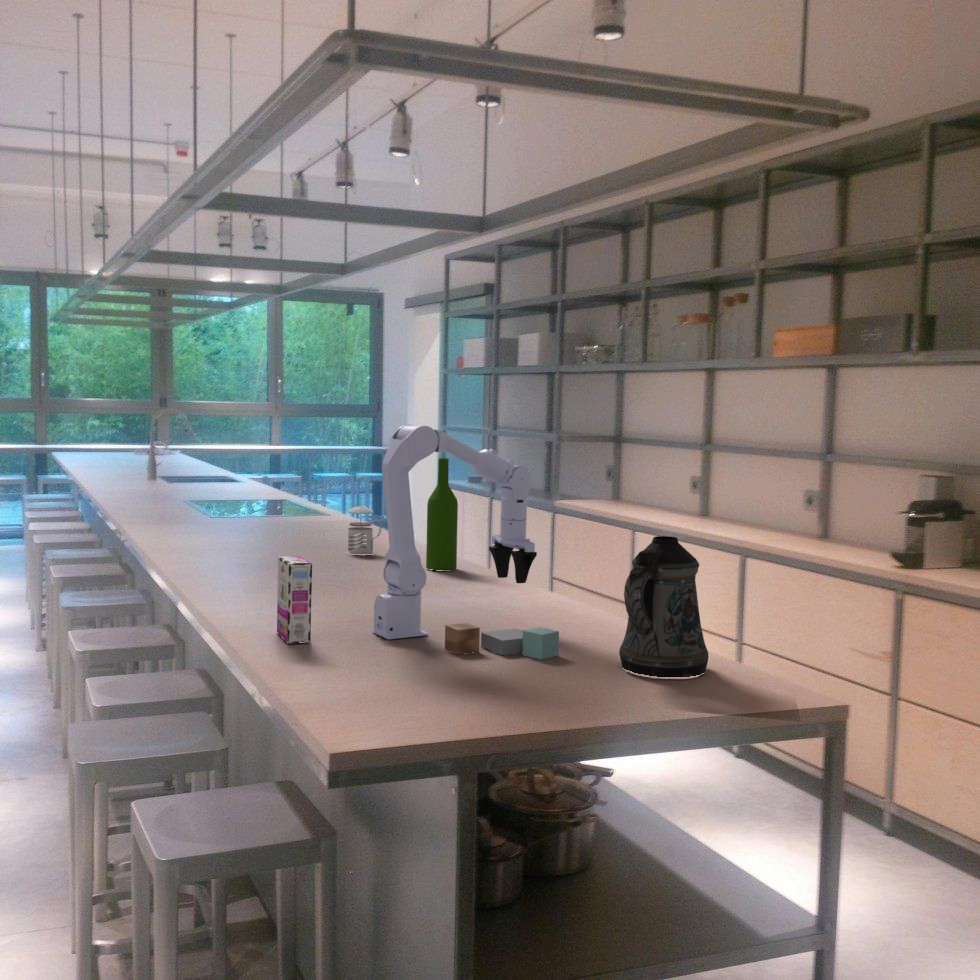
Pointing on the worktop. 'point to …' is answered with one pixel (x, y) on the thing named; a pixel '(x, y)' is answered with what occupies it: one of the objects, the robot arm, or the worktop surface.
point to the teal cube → (540, 643)
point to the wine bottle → (442, 523)
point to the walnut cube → (462, 638)
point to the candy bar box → (294, 599)
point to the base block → (503, 641)
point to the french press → (361, 531)
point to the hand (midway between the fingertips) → (511, 580)
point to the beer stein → (663, 613)
